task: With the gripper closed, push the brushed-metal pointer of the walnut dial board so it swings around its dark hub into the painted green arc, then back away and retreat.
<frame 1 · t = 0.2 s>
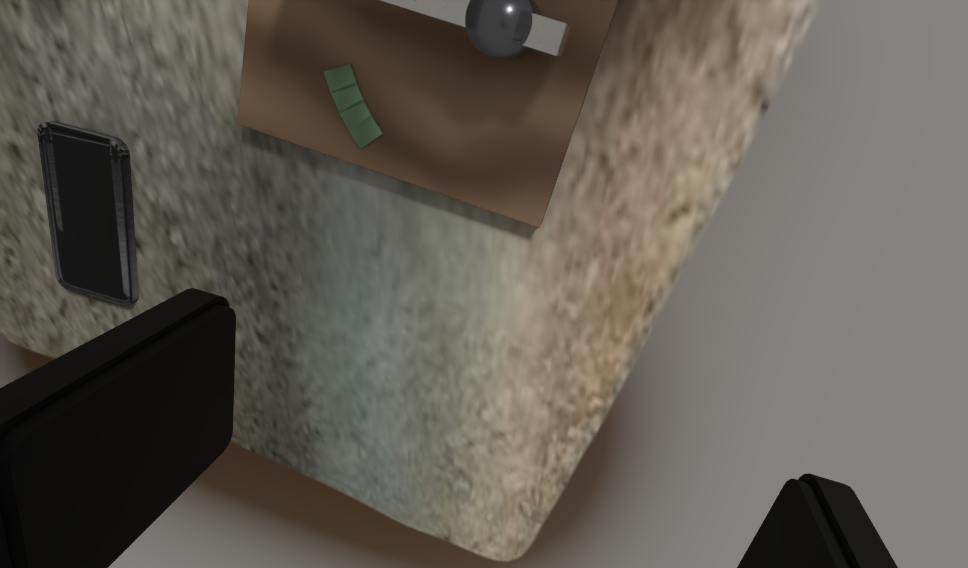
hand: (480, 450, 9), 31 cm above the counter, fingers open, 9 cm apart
phone: (99, 215, 48), on the counter
dial board: (425, 16, 36), on the counter
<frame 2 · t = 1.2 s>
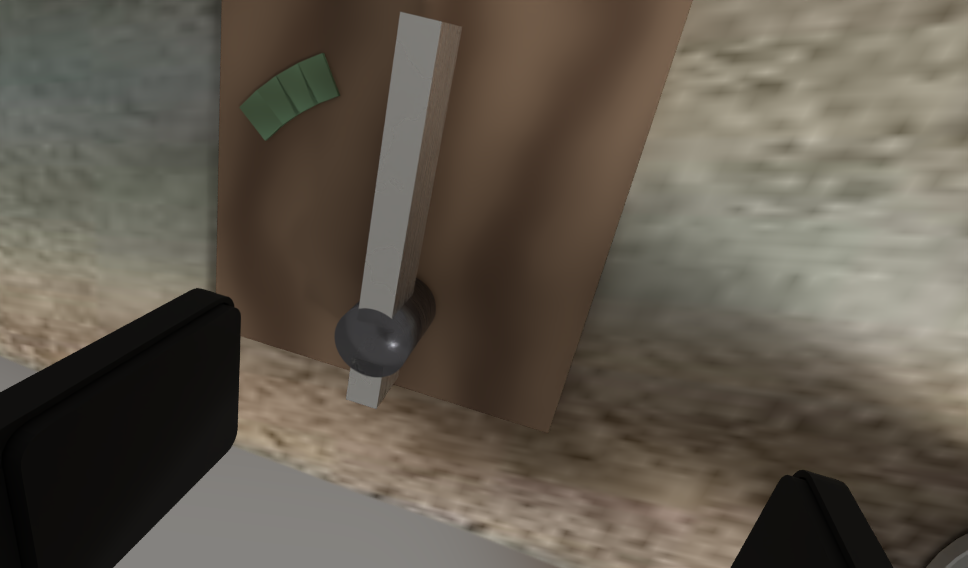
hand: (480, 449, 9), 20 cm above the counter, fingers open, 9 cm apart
dial board: (416, 186, 29), on the counter
dial pointer: (404, 225, 26), point 4 cm above the counter, hinge at 0.0°
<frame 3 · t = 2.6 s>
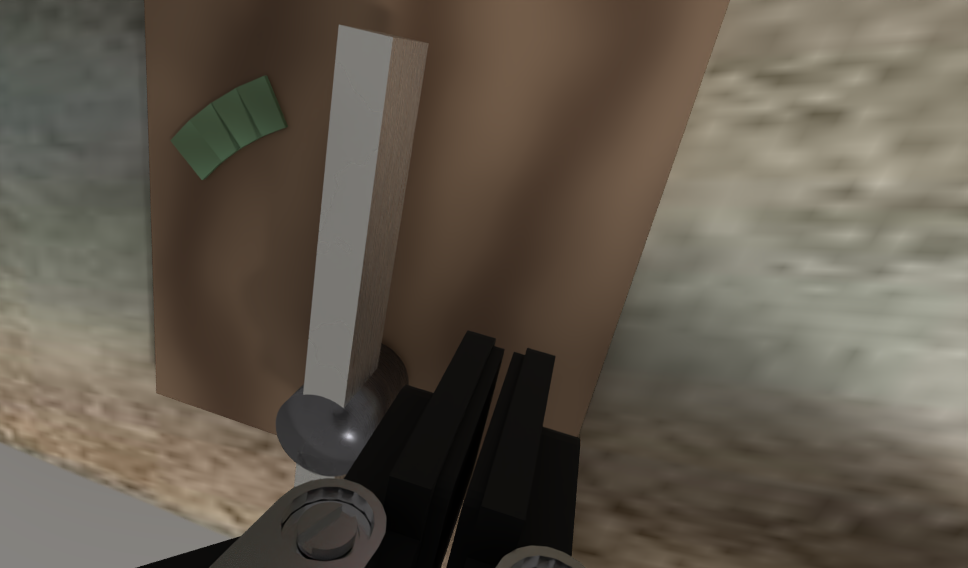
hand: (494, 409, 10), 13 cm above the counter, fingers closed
dial board: (384, 233, 24), on the counter
dial pointer: (362, 288, 20), point 4 cm above the counter, hinge at 0.0°
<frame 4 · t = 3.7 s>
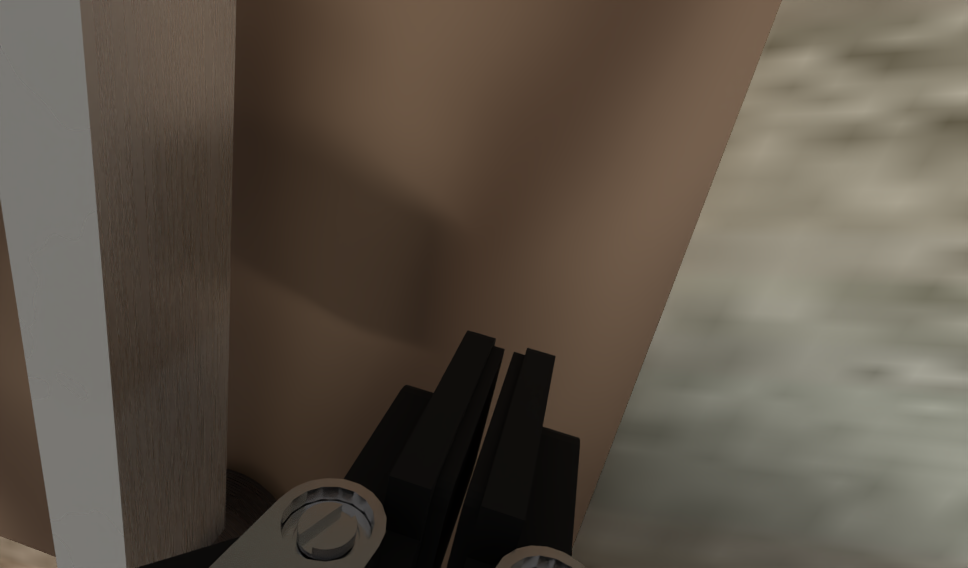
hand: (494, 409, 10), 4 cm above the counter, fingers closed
dial board: (248, 304, 16), on the counter
dial pointer: (174, 422, 12), point 4 cm above the counter, hinge at 0.0°
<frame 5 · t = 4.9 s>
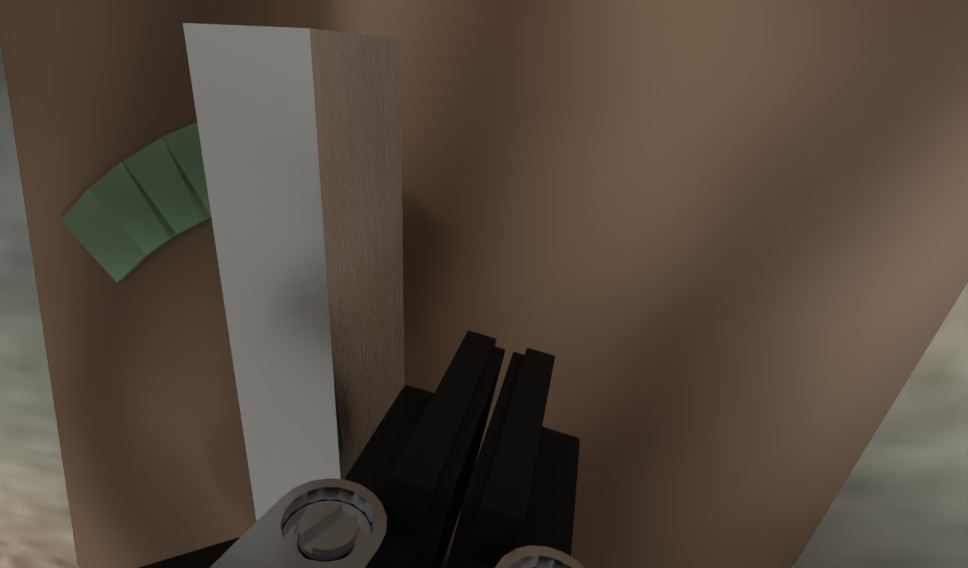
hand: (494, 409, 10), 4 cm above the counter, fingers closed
dial board: (417, 355, 15), on the counter
dial pointer: (358, 485, 12), point 4 cm above the counter, hinge at 9.0°, touching gripper
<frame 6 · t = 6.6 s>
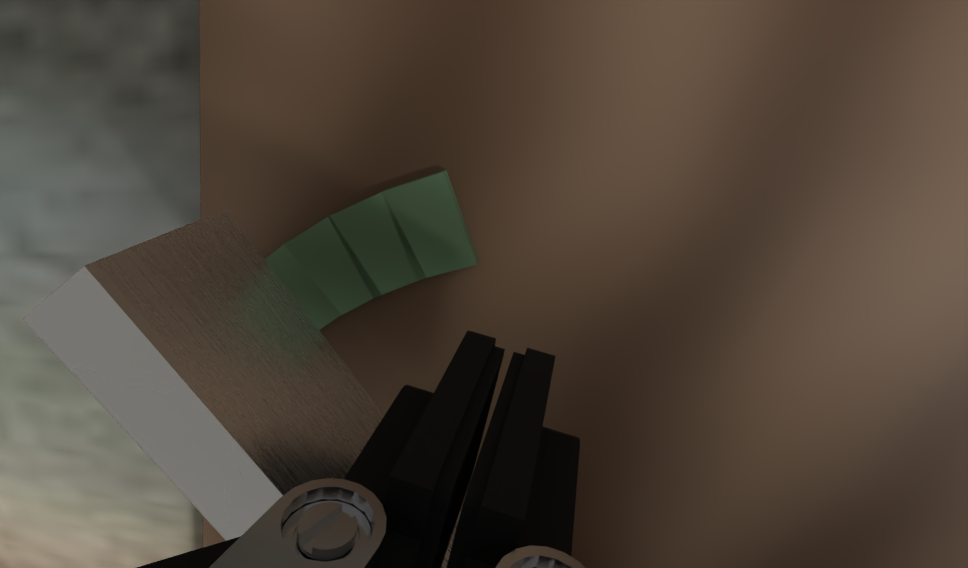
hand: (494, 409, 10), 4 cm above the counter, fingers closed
dial board: (613, 417, 14), on the counter
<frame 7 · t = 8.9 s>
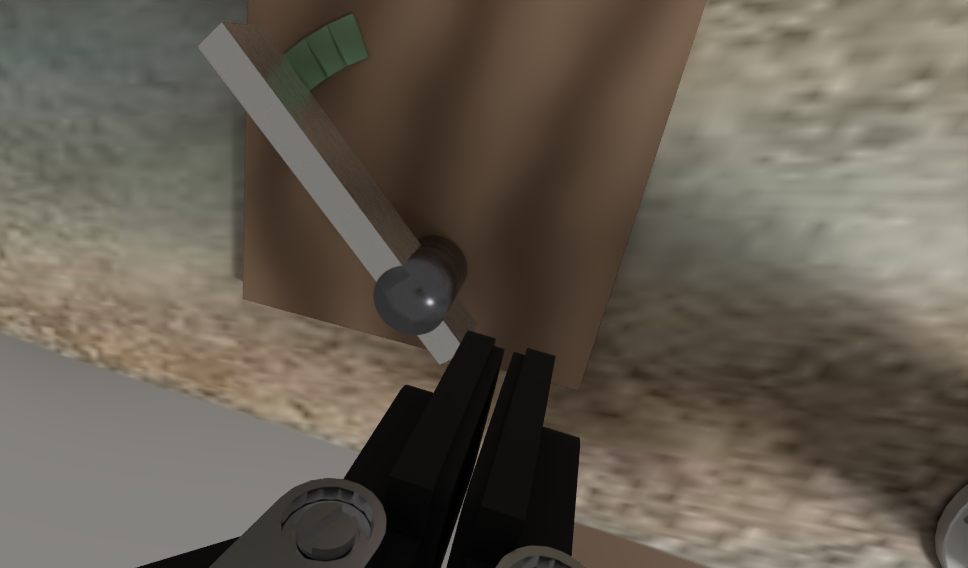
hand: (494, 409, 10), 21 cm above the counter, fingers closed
dial board: (444, 148, 29), on the counter
dial pointer: (360, 196, 27), point 4 cm above the counter, hinge at 46.3°
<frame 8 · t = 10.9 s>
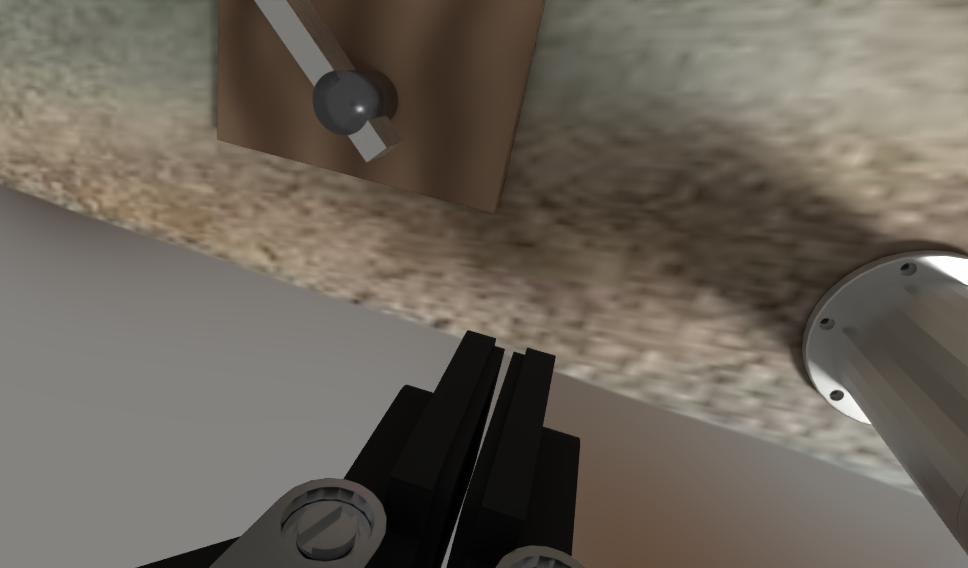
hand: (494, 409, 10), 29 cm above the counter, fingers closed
dial pointer: (305, 24, 33), point 4 cm above the counter, hinge at 46.3°
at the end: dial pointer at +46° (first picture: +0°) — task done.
